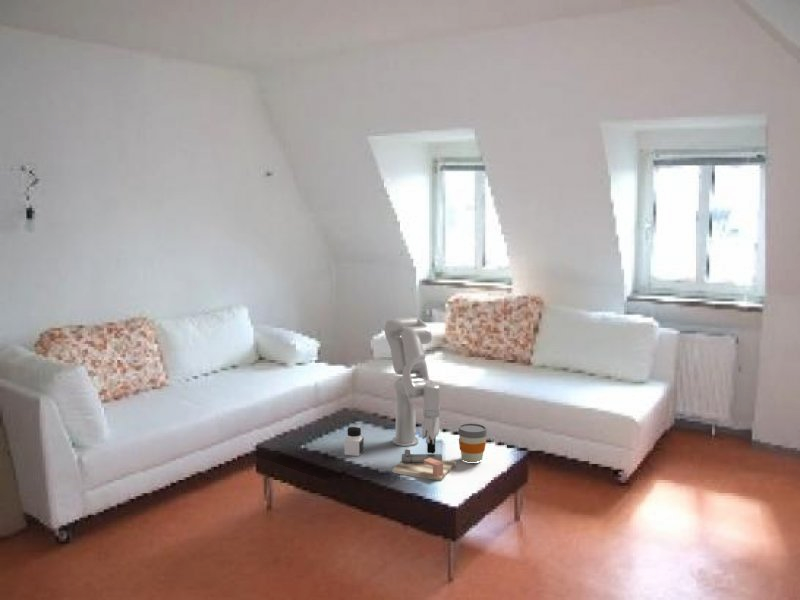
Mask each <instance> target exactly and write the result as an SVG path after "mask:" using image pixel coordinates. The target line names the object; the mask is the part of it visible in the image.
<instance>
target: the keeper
mask: <svg viewBox="0 0 800 600" xmlns="http://www.w3.org/2000/svg"><path fill="white" fill-rule="evenodd" d="M424 463H425V464H428V465H430V466H433V475H434V476H437V477H438V476H441V475H443V462H440V461H438V460H435V459H432V458H428V459H425V460H424Z"/></svg>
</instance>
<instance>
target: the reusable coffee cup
mask: <svg viewBox="0 0 800 600" xmlns="http://www.w3.org/2000/svg"><path fill="white" fill-rule="evenodd" d="M457 433H458V436H459V438H458V444H459V450H460V454H461V461H462V460H464V461H467V462H477V461H480V460H482V461H483V457H484V452H485V449H486V443H487V440H486V437H487V434H488V433H487V427H486V426H485V425H483V424H479V423H472V422H471V423H463V424H460V425H458V432H457Z"/></svg>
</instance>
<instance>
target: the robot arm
mask: <svg viewBox="0 0 800 600" xmlns="http://www.w3.org/2000/svg"><path fill="white" fill-rule="evenodd" d="M432 335H433V334H432V331H431V328H430V327H429V326H428V325H427V324H426V323H425V322H424V321H423V320H421V318H419V317H415V316H411V317H396V318H395V317H394V318H391V319H388V320H387V321H386V322H385V324H384V336H385V339H386V341H387V343H388V346H389V349H390V355H391V360H392V365H393V371H394V372H395V374H396V375H399V376H402V377H400V378H397V379H396V380H395V381H394V384H393V390H394V397H395V399H394V400H395V436H394V437H393V438H391V439H392V441H391V442H392V443H393V444H394V445H396V446H400V447H413V446H415V444H416V443H417V444H418V443H419V442H418V441H419V438H418V437H417V436H416V433H417V431H418V430H417V429H416V422H417V421H416V404H415V402H414V401H413V400H414V399H421V398H422V400H423V401H422V402H423V403H422V416H423V419H422V431H421V432H422V433H421V437H422V439H423V440H424V439H425V438H426V439H425V443H426V444H427V445H426V446H427V448H426V449H427V450H426V451H427V454H436V441H437V440H436V439H437V436H438V435H439V434H440V433H439V432H440V417H441V387H440V385H439V384H436V383H435V381H434V380H431V379H430V378H429V376H430V375H429V371H428V365H427V362H426V355H425V350H424V348H423V347H424V345H427V344H428V345H429V344H430V343H431V341H432V339H433V338H432V337H433V336H432ZM413 374H414V376H411V375H413ZM417 444H416V445H417Z"/></svg>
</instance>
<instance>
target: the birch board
mask: <svg viewBox="0 0 800 600" xmlns="http://www.w3.org/2000/svg"><path fill="white" fill-rule="evenodd" d="M404 454H405V456H410V454H411V450H410V449H405V450H404ZM442 462H443V475H441V476H438V477H437V476H434V475H433V466H430V465H428V464H425V463H424V462H412V463H403V462H402V460H401V461H399V462H398V463H397V464H396V465H395V466H394V467H392V469H391V473H392V472H393V473H394V474H399V475H405V476H411V477H418V478H424V479H429V480H433V481H441V482H442V481H443V480H444V479H445V478H446V476H447V475H448V474H449V473H450V472H451V471H452V469H454V467H455V466H456V461H451V460H445V459H442Z"/></svg>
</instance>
